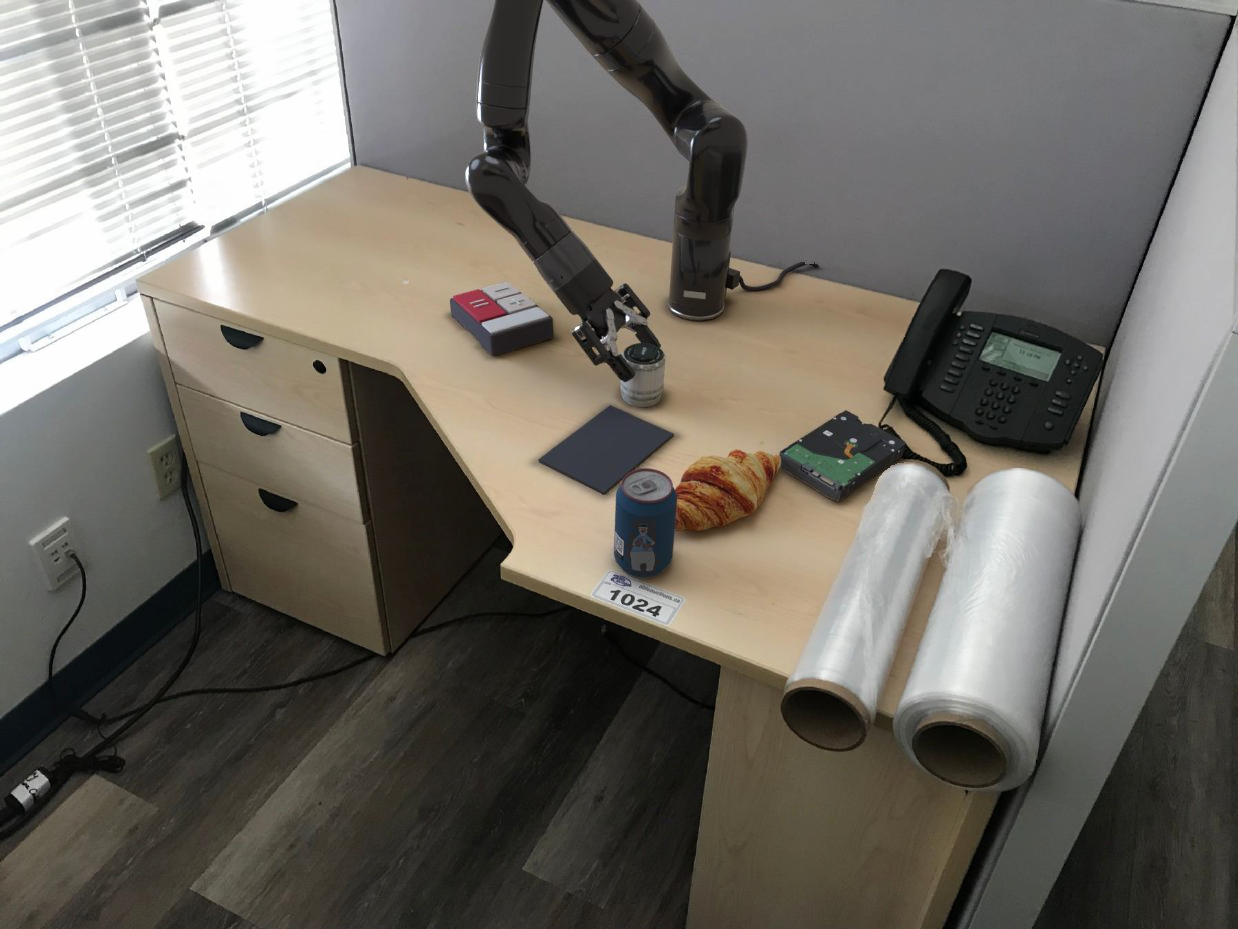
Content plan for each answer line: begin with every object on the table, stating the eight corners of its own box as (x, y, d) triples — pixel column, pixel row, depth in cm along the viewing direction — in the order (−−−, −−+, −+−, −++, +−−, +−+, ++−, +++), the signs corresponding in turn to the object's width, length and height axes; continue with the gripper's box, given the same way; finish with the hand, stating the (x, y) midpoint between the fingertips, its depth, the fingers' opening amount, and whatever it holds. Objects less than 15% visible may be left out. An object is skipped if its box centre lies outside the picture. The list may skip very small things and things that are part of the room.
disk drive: (840, 424, 140) (775, 467, 132) (844, 408, 139) (778, 450, 130) (903, 458, 135) (838, 505, 126) (907, 441, 133) (842, 488, 124)
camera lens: (617, 406, 142) (618, 360, 137) (623, 382, 147) (624, 336, 142) (660, 411, 141) (663, 364, 136) (665, 386, 146) (668, 341, 141)
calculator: (508, 277, 163) (553, 313, 153) (510, 301, 166) (554, 338, 156) (447, 294, 159) (490, 332, 148) (450, 318, 161) (492, 357, 151)
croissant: (757, 478, 135) (742, 424, 133) (813, 483, 127) (799, 425, 125) (645, 546, 124) (628, 487, 121) (700, 555, 116) (682, 493, 113)
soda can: (653, 535, 121) (658, 458, 113) (682, 571, 116) (690, 493, 109) (603, 552, 118) (605, 475, 111) (631, 590, 114) (635, 511, 106)
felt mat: (610, 407, 142) (610, 404, 142) (673, 435, 137) (673, 433, 137) (538, 461, 132) (538, 459, 131) (604, 494, 127) (604, 492, 126)
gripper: (564, 281, 130) (639, 378, 133) (613, 239, 140) (682, 330, 143) (530, 307, 135) (604, 399, 138) (580, 265, 145) (647, 352, 148)
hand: (643, 364), depth 141 cm, fingers open, 8 cm apart
